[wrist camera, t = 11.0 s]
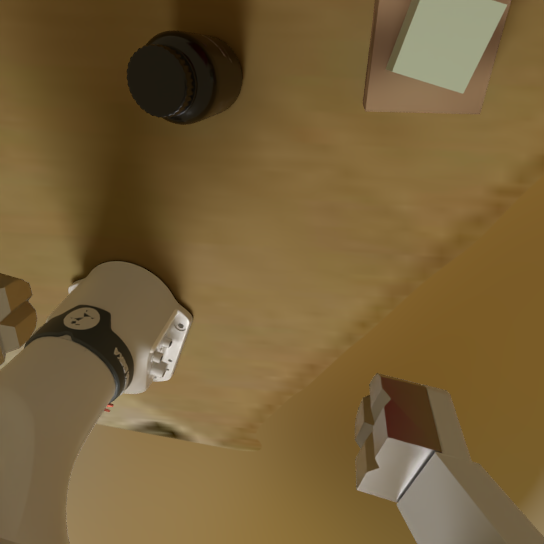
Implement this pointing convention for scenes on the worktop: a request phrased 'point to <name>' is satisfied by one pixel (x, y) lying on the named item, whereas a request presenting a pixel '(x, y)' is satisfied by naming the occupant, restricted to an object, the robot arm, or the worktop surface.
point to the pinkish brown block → (411, 92)
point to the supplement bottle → (184, 76)
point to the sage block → (444, 40)
